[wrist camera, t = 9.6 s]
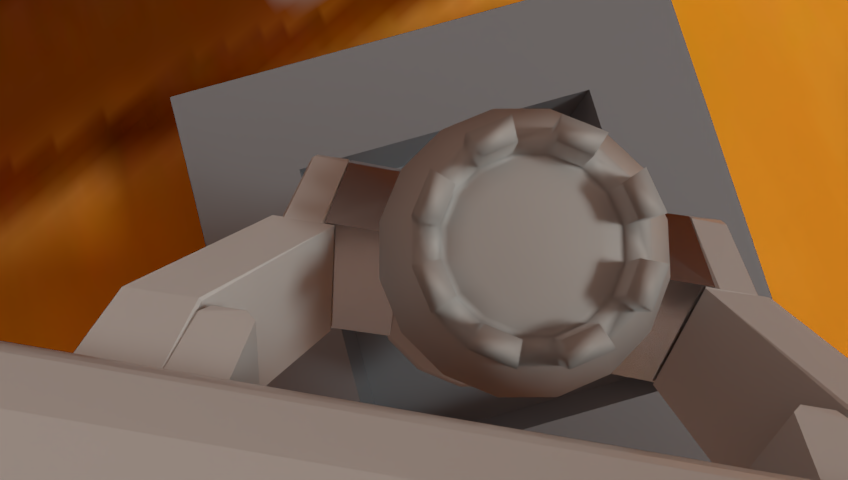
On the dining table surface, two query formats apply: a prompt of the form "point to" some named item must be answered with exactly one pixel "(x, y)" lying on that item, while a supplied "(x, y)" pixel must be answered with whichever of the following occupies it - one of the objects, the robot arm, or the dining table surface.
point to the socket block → (443, 107)
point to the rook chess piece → (522, 254)
